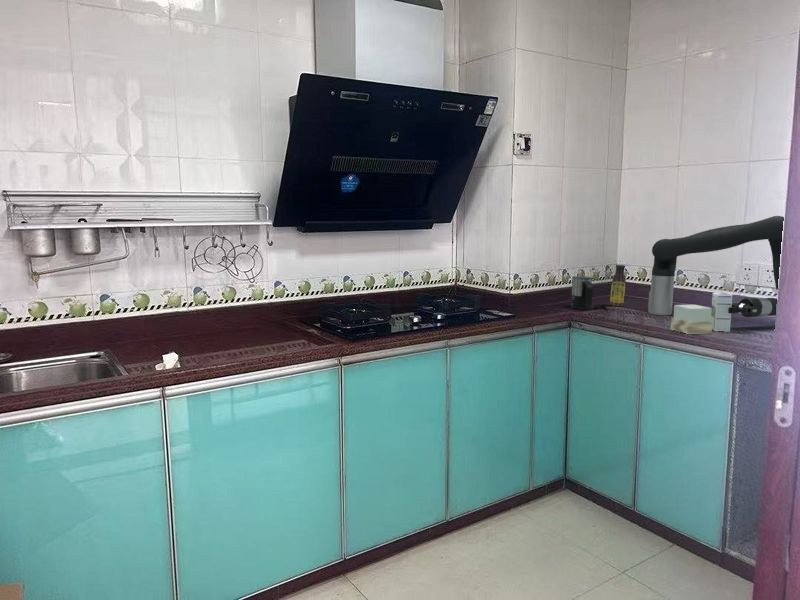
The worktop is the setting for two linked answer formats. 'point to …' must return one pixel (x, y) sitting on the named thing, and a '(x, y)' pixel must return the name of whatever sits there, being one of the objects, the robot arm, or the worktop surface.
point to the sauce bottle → (618, 286)
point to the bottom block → (691, 326)
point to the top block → (692, 313)
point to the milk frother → (583, 293)
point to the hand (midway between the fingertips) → (720, 308)
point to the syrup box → (721, 311)
